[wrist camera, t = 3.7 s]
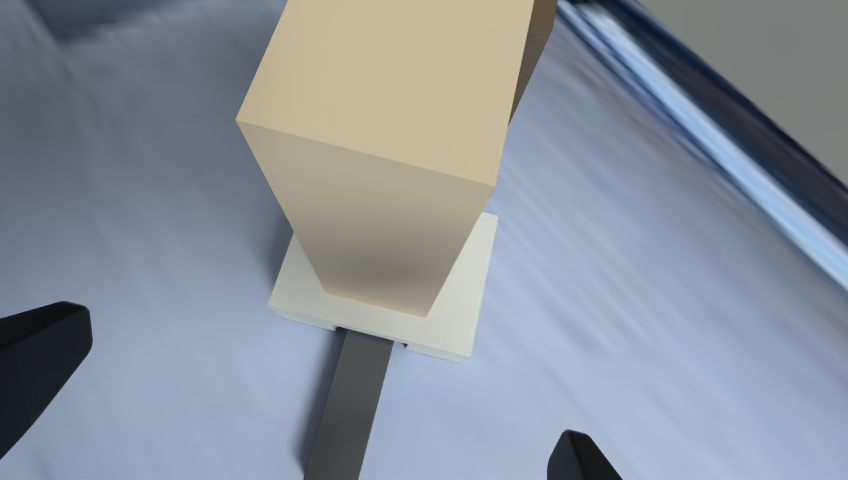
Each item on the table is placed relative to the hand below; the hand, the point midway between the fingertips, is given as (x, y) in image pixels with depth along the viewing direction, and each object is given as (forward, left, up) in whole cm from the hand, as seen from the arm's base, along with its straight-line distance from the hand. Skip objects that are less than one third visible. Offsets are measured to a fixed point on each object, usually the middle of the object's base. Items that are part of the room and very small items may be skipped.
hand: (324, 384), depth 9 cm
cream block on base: (+5, +2, -12) cm, 13 cm away
